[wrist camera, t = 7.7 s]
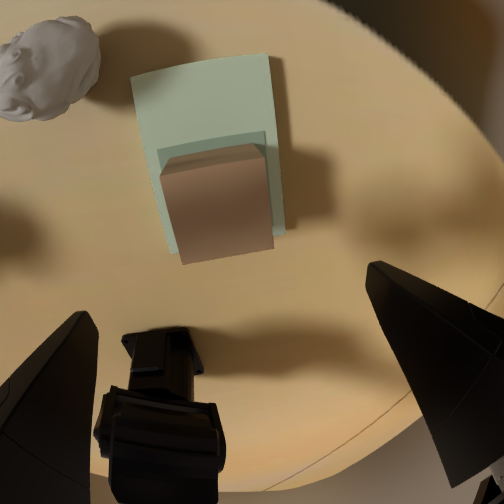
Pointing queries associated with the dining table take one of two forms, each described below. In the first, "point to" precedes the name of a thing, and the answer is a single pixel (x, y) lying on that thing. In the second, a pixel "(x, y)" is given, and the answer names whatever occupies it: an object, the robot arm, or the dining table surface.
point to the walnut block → (218, 203)
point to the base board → (208, 120)
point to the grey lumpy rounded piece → (47, 69)
